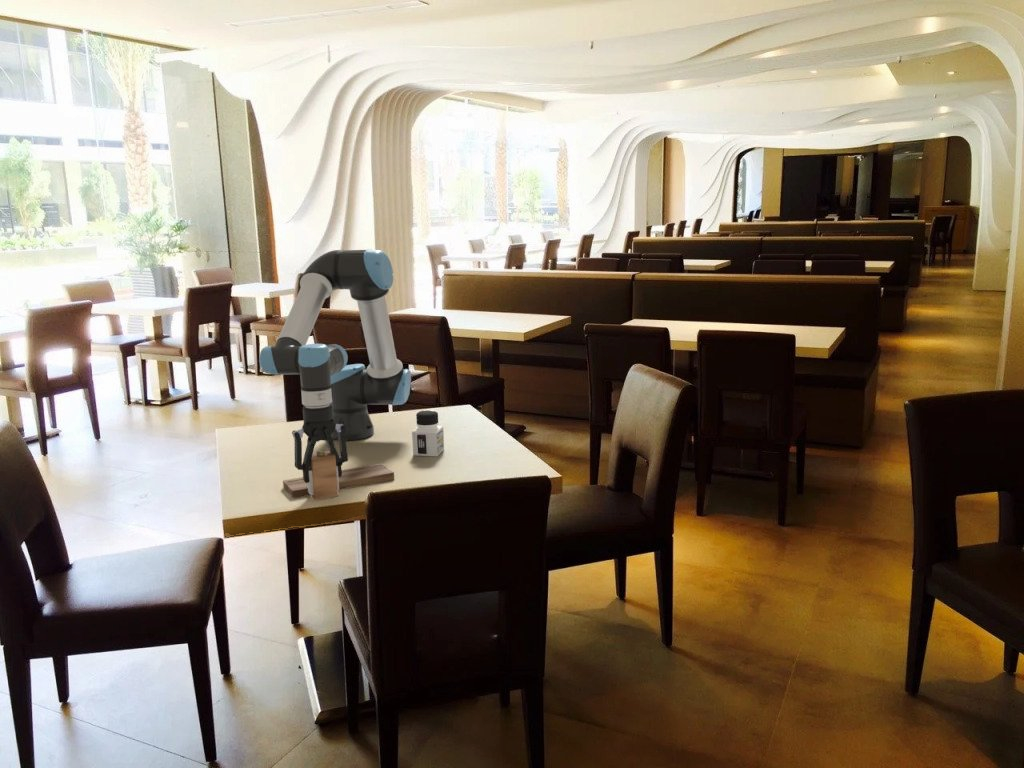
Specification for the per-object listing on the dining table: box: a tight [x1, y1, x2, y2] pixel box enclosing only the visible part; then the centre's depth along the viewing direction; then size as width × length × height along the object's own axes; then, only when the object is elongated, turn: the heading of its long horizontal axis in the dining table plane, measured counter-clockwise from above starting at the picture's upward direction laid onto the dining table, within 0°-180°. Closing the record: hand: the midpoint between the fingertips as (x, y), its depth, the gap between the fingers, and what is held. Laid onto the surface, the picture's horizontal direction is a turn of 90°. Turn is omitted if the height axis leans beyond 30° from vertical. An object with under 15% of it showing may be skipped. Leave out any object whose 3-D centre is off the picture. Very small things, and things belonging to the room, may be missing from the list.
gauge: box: [309, 450, 339, 501], centre depth 217 cm, size 14×6×12 cm, turn 29°
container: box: [411, 409, 445, 457], centre depth 249 cm, size 8×8×13 cm
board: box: [282, 462, 395, 499], centre depth 224 cm, size 10×28×2 cm, turn 119°
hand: (323, 491), depth 214 cm, fingers closed on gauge, 6 cm apart
